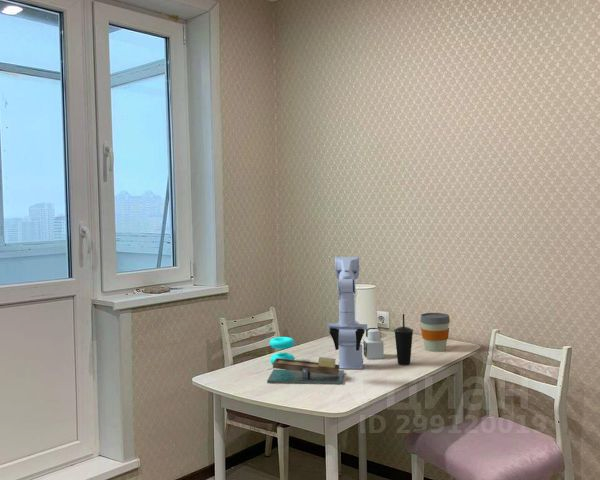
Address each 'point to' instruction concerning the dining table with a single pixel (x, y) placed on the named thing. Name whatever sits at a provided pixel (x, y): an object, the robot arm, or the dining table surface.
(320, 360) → the block
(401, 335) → the drinking cup
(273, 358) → the donuts
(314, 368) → the brown long flat tray
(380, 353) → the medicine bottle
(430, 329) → the reusable coffee cup
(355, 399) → the dining table surface
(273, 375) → the stand
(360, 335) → the robot arm
